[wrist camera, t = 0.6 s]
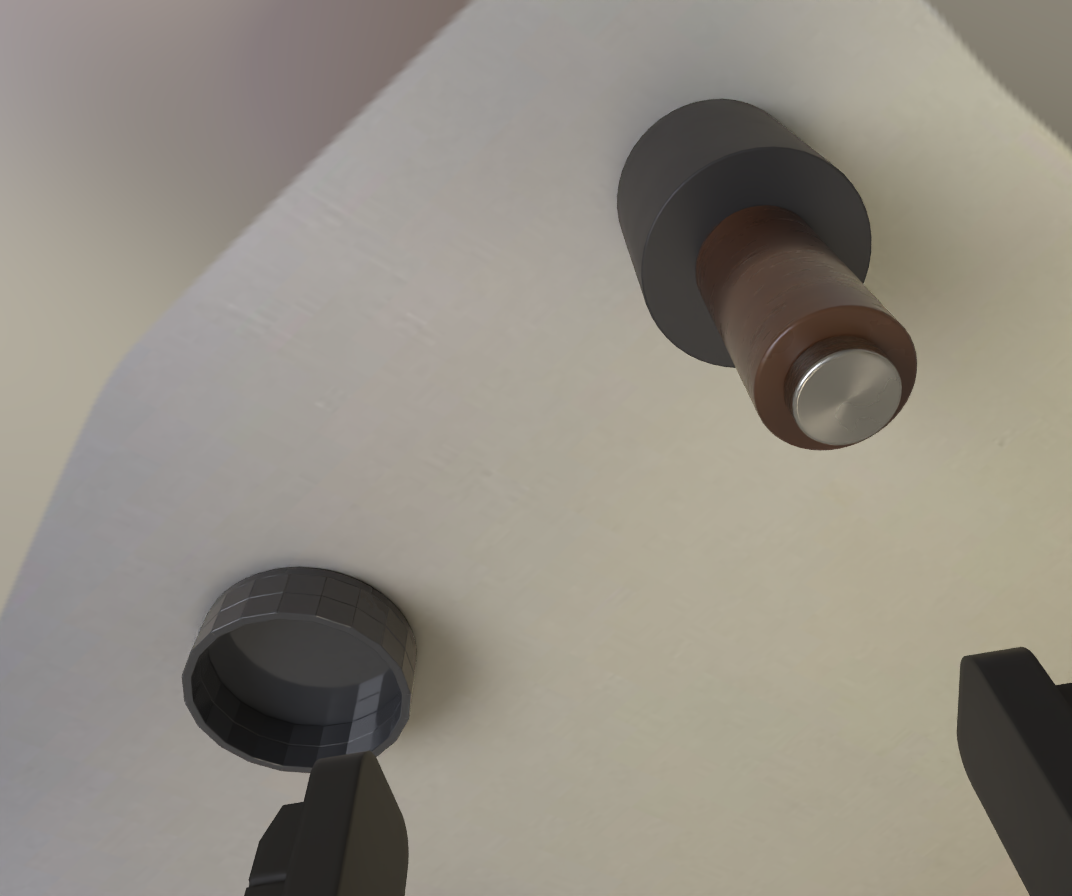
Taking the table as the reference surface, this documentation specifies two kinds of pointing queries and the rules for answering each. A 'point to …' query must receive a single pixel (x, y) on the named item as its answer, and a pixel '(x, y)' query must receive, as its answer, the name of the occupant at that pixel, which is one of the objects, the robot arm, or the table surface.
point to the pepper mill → (803, 331)
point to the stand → (723, 205)
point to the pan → (301, 669)
